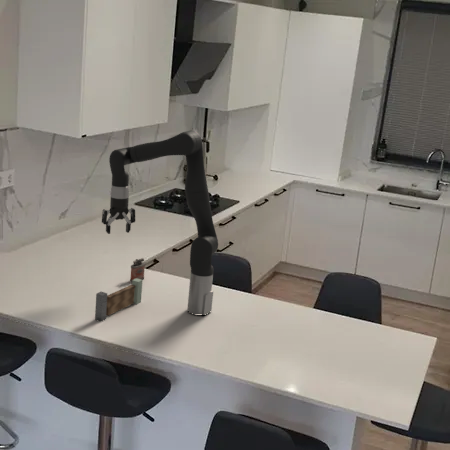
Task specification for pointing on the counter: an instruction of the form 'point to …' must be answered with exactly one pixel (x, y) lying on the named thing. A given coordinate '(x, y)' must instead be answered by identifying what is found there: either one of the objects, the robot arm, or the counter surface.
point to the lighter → (137, 269)
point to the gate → (120, 299)
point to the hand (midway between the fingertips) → (118, 232)
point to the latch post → (137, 290)
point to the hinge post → (101, 306)
